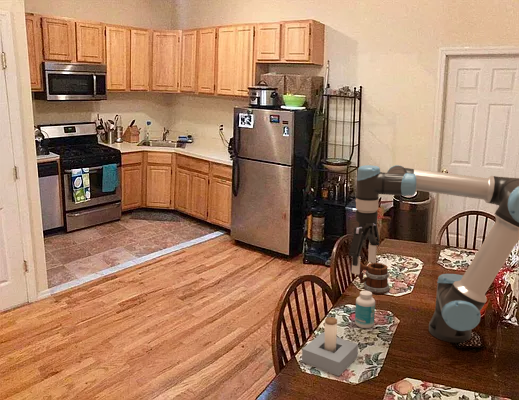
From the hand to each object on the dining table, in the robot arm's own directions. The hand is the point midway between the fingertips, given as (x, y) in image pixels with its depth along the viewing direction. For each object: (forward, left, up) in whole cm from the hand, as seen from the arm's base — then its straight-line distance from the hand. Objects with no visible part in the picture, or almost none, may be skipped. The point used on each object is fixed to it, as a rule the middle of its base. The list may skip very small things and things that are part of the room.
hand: (364, 267), depth 169 cm
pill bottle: (+4, -12, -29) cm, 32 cm away
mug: (+15, -45, -29) cm, 56 cm away
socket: (+3, +18, -29) cm, 34 cm away
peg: (+3, +18, -29) cm, 34 cm away
